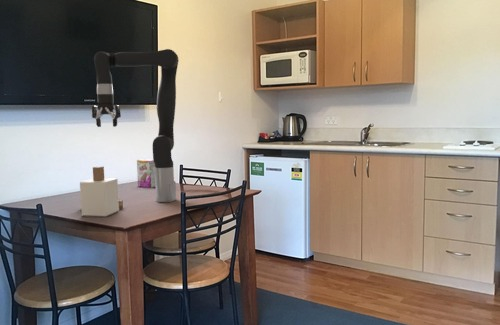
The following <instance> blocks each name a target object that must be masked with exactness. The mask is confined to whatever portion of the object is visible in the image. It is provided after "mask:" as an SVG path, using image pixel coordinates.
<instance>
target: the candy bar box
mask: <svg viewBox="0 0 500 325" xmlns="http://www.w3.org/2000/svg"><path fill="white" fill-rule="evenodd" d="M136 169H137V171H136V172H137V187H140V188H141V187H142V188H150V189H152V188H156V183H155V164H154V161H153V159H146V158H145V159H143V158H142V159H137V160H136Z"/></svg>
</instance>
